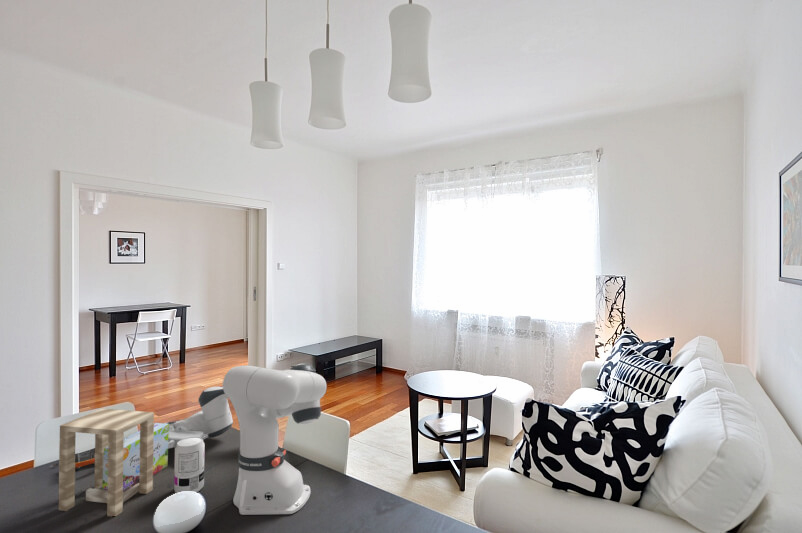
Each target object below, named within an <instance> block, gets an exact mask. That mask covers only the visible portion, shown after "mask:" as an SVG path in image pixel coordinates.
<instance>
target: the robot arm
mask: <svg viewBox="0 0 802 533" xmlns="http://www.w3.org/2000/svg"><path fill="white" fill-rule="evenodd" d="M327 387H328V386H327V381H326V379H325V378H324V377H323V376H322V375H321V374H318V373H317V372H316V369H315V368H314V366H313V365H312V364H311V363H299V364H295V365H294V366H292V367H291V368H290V369H284V370H280V369H274V368H267V367H261V366H255V365H247V364H246V365H238V366H234V367H231V368H230V369H229V370H228V371H227V372H226V373H225V375H224V378H223V380H222V386H211V387H207V388H206V389H203V390H202V392H200V394H199V397H198V403H199V405H200V408H201V410H199V411H197V412H195V413H194V414H192V415H191V416H189V417H186V418H185V419H181V420H177V421H176V420H175V421H169V422H168V421H166V422H164V424H169V437H168V450H169V449H172V448H174V449H175V448H176V446H177V443H178V442H179V441H180V440H182V439H185V438H188V437H200V438H202V439H203V442H204V441H205V440H206V439H207V438H215V437H218V436H221V435H223V434H225V433H227V432H228V431H229V430H230V429H231V427H232V425H233V424H234V420H233V416H232V412H231V409H230V405H229V401H230V403H232V406H233V409H234V412H235V415H236V417H237V418H236V419H237V422H238V426H239V451H238V456H237V457H238V458H237V466H238V468H237V469H238V476H237V477H238V478H237V482H236V489H235V492H234V496H233V500H232V501H233V504H234V506H236V507H237V508H238V511H239V512H238V513H239V514H240V515H242V516H243V515H245V516H247V515H255V516H256V515H292V514H294V513H296V512H298V511H300V510H301V509H302V508H303V507H304V505H306V503H307V502H308V500H309V498H310V496H311V493H312V491H311V486H309V485H308V484H304V480H303V475H302V473H301V471H299V469H297V468H296V467H294V466H293V465H292V464H290V463H289V462H288V461H287V460H286V459H285V455H286V453H287V449H284V450H283V451H282V450H281V447H280V446H279V430H280V428H279V422H278V419H282V418H287V417H289V416H292V419H293V421H294V422H295V423H296V424H298V425H309V424H312V423H314V422H315V421H317V420H319V418H320V417H321V413H322V412H321V411H322V408H321V399H322V398H323V397H324V396H325V394H326V392H327ZM228 399H229V400H228Z"/></svg>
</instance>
